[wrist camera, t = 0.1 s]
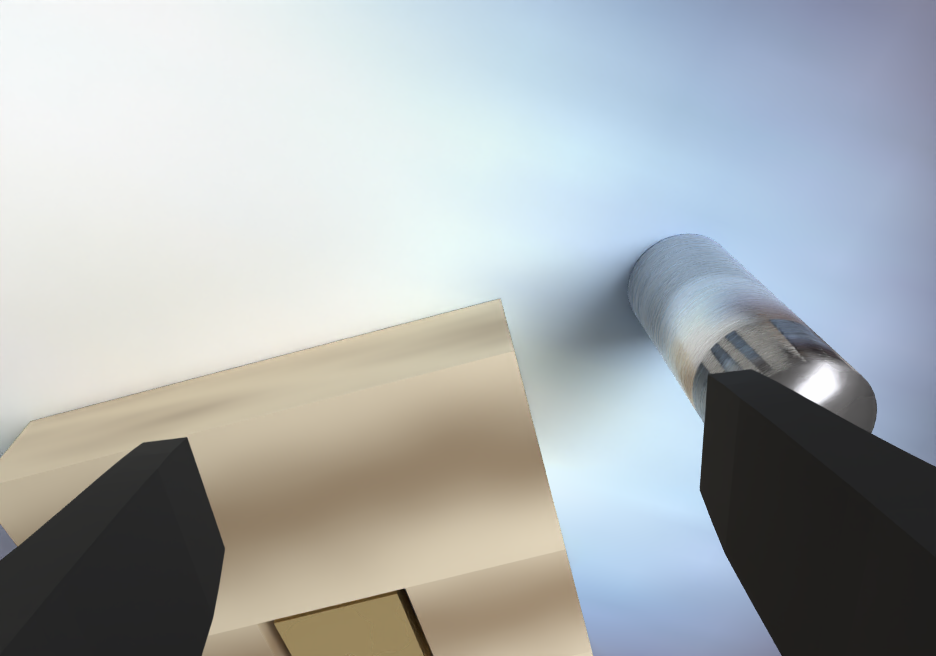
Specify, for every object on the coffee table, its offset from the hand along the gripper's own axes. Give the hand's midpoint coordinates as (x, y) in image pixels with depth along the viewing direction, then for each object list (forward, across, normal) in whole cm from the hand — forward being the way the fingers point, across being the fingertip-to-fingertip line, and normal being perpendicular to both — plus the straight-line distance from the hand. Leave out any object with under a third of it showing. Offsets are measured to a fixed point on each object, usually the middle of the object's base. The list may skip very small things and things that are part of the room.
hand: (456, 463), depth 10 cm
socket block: (+10, +4, +12) cm, 16 cm away
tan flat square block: (+8, +4, +12) cm, 15 cm away
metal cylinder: (+10, -7, +2) cm, 12 cm away
